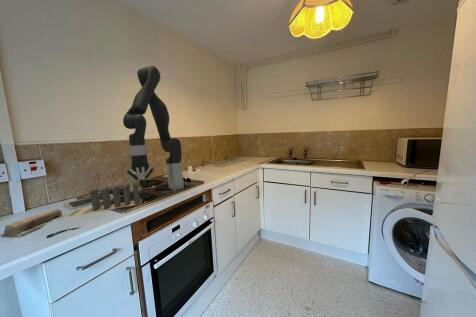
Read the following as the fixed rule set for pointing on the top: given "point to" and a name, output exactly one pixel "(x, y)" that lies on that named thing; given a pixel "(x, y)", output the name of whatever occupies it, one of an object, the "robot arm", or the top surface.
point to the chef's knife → (60, 232)
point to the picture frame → (83, 202)
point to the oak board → (102, 208)
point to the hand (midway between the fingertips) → (142, 186)
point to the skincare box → (132, 181)
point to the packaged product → (32, 223)
